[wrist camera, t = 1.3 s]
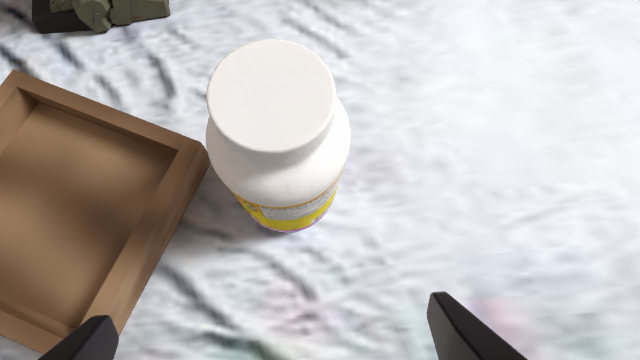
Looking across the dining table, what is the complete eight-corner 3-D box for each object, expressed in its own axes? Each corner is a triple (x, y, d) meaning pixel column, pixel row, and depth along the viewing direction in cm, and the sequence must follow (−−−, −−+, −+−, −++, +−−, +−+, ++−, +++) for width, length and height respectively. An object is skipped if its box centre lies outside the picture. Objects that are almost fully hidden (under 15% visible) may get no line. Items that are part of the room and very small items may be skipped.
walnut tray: (107, 357, 21) (76, 368, 18) (-87, 270, 22) (-146, 268, 19) (212, 158, 25) (200, 142, 22) (45, 93, 26) (13, 69, 23)
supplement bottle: (238, 151, 25) (175, 21, 13) (327, 141, 26) (347, 8, 13) (245, 241, 23) (178, 190, 11) (341, 228, 24) (379, 166, 11)
